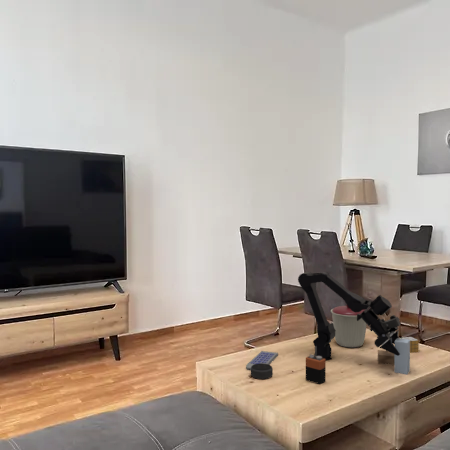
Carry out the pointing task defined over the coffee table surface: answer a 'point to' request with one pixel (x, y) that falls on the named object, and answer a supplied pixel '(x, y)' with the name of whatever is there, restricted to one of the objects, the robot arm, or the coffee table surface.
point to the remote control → (262, 359)
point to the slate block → (402, 356)
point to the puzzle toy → (413, 344)
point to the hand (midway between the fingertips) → (401, 351)
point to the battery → (315, 369)
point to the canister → (348, 327)
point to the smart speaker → (261, 371)
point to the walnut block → (385, 357)
